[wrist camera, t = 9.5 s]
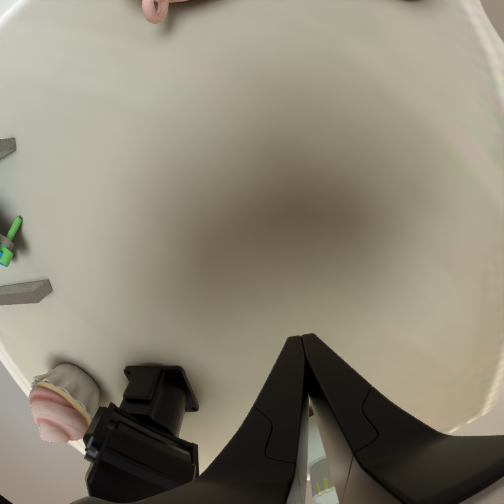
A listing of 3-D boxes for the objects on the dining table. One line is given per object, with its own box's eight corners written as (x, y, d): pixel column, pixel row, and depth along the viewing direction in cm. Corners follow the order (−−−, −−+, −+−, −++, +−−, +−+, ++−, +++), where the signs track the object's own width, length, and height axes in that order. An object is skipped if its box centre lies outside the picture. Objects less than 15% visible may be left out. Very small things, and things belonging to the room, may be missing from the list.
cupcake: (38, 344, 26) (-5, 396, 16) (98, 360, 25) (56, 428, 16) (63, 396, 29) (33, 447, 19) (119, 413, 29) (93, 474, 19)
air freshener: (274, 417, 27) (276, 495, 18) (343, 386, 25) (365, 468, 16) (318, 451, 30) (326, 513, 21) (375, 426, 28) (394, 489, 19)
